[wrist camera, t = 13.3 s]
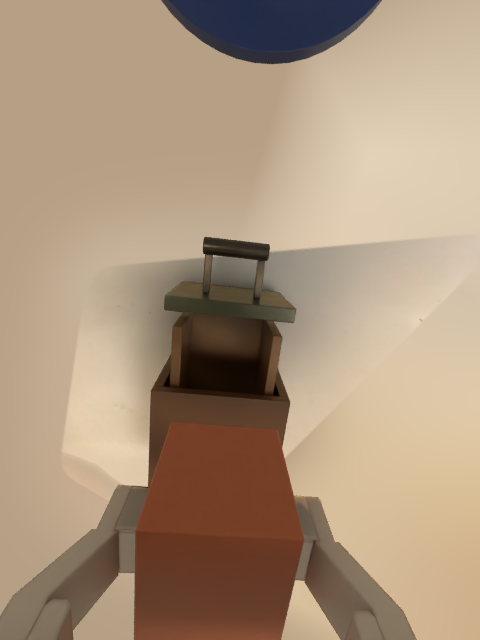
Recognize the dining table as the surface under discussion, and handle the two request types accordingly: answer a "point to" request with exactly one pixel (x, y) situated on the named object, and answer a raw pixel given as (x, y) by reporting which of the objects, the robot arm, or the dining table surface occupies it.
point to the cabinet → (211, 411)
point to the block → (216, 537)
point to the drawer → (227, 328)
